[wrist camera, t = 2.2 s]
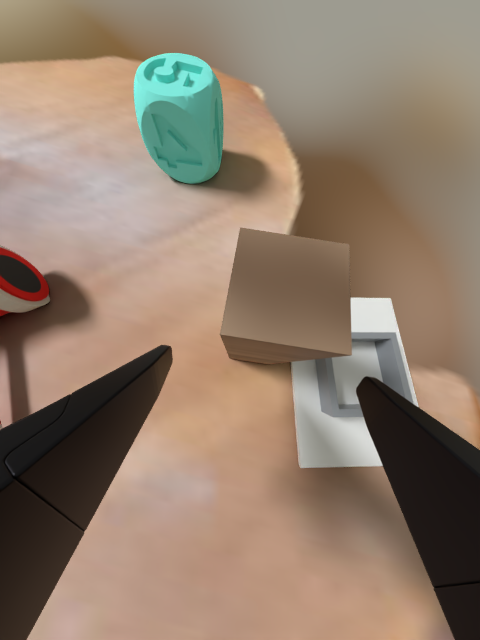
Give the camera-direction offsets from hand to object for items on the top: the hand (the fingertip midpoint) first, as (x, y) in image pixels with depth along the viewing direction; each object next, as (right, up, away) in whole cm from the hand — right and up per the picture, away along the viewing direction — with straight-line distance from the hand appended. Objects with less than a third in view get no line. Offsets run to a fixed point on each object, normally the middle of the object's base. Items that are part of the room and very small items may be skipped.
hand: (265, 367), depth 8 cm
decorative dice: (-8, +25, +17) cm, 31 cm away
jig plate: (+10, -3, +10) cm, 14 cm away
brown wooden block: (0, 0, +10) cm, 10 cm away
